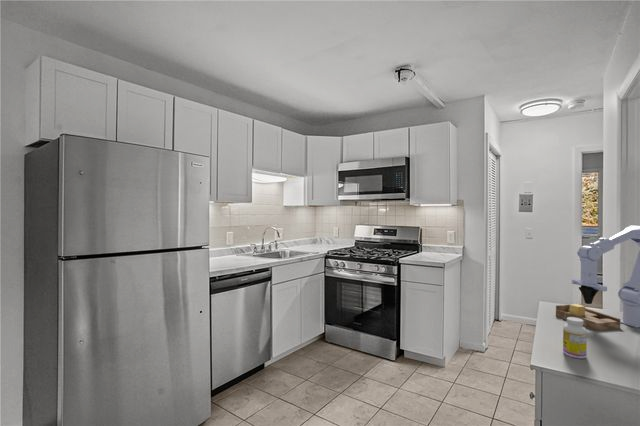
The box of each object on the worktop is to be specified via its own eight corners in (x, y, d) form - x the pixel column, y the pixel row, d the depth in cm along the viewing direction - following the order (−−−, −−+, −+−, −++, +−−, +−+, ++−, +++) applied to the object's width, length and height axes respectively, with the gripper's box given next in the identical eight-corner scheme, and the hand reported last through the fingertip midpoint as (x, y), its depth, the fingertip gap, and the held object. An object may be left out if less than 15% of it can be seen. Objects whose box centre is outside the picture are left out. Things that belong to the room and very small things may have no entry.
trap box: (578, 314, 162) (578, 303, 161) (620, 328, 143) (620, 316, 143) (555, 315, 159) (555, 305, 159) (595, 330, 141) (595, 318, 140)
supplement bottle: (563, 349, 122) (564, 314, 122) (586, 354, 118) (587, 318, 118) (562, 355, 117) (562, 319, 117) (586, 361, 113) (586, 323, 113)
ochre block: (576, 312, 155) (576, 303, 155) (584, 315, 151) (585, 306, 151) (569, 312, 154) (569, 304, 154) (577, 315, 150) (577, 306, 150)
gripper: (566, 270, 154) (565, 299, 154) (597, 276, 139) (597, 309, 140) (579, 269, 155) (578, 298, 155) (611, 276, 141) (611, 308, 141)
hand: (588, 303), depth 148 cm, fingers closed
